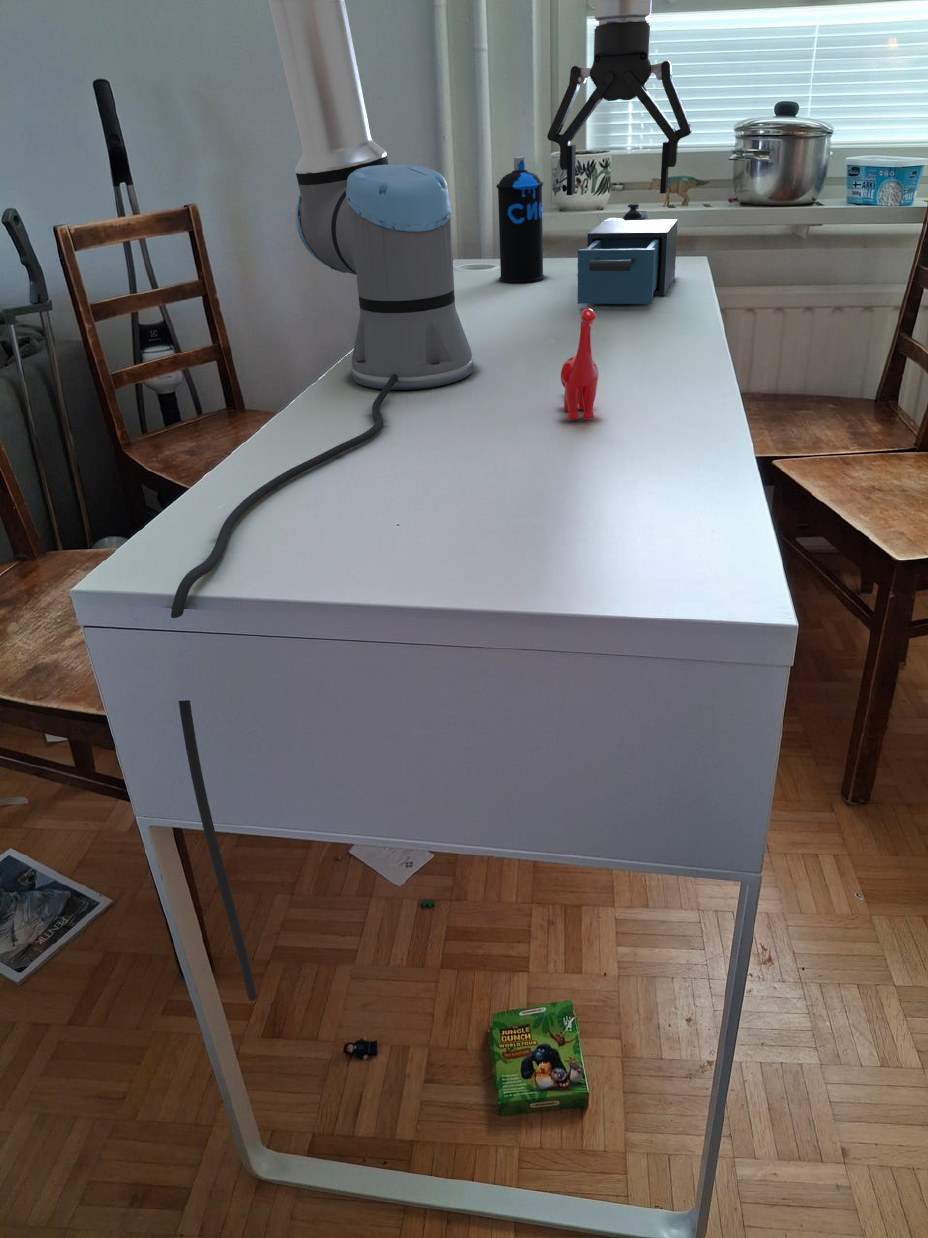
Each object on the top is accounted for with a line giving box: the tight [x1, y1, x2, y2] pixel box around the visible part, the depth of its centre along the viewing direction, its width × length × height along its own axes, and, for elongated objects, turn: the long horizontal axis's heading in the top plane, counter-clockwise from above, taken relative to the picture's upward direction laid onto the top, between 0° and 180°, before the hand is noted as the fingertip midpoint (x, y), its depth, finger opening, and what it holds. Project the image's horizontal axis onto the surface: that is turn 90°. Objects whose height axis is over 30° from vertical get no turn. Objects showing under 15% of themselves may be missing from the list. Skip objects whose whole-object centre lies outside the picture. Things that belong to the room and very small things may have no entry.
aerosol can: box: [495, 156, 545, 284], centre depth 165 cm, size 8×8×20 cm
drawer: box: [577, 238, 661, 305], centre depth 144 cm, size 18×11×8 cm, turn 163°
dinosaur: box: [560, 308, 599, 421], centre depth 96 cm, size 4×15×12 cm, turn 1°
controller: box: [621, 203, 649, 220], centre depth 181 cm, size 4×12×10 cm, turn 165°
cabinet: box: [586, 218, 679, 297], centre depth 156 cm, size 15×13×10 cm
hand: (616, 193), depth 137 cm, fingers open, 13 cm apart
